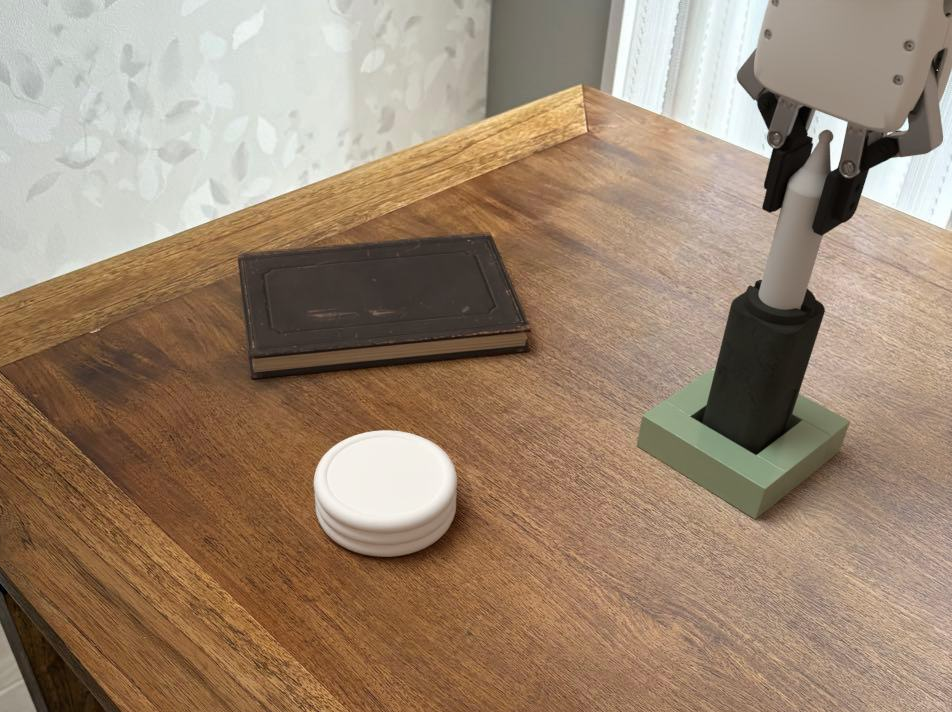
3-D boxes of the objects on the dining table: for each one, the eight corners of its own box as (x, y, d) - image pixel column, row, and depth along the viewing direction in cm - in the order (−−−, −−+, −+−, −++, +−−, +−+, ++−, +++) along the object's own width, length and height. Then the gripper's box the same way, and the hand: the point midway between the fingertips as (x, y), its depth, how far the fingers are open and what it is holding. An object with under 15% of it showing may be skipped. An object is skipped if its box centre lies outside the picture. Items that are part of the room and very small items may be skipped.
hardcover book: (528, 351, 92) (531, 328, 91) (251, 379, 90) (248, 356, 88) (487, 250, 103) (489, 228, 102) (239, 272, 101) (236, 249, 99)
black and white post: (730, 418, 86) (815, 103, 68) (786, 450, 84) (889, 131, 66) (690, 447, 84) (766, 129, 66) (746, 481, 81) (841, 159, 63)
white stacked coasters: (443, 569, 75) (445, 533, 73) (300, 550, 76) (296, 513, 74) (465, 471, 82) (467, 435, 79) (334, 455, 83) (331, 419, 81)
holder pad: (722, 386, 89) (729, 355, 87) (839, 451, 84) (851, 420, 81) (636, 445, 84) (642, 414, 82) (755, 519, 79) (765, 488, 76)
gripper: (1086, -89, 54) (954, 245, 68) (801, -158, 63) (732, 151, 76) (1013, -53, 51) (888, 291, 64) (720, -132, 59) (663, 188, 72)
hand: (804, 212), depth 70 cm, fingers closed on black and white post, 3 cm apart
